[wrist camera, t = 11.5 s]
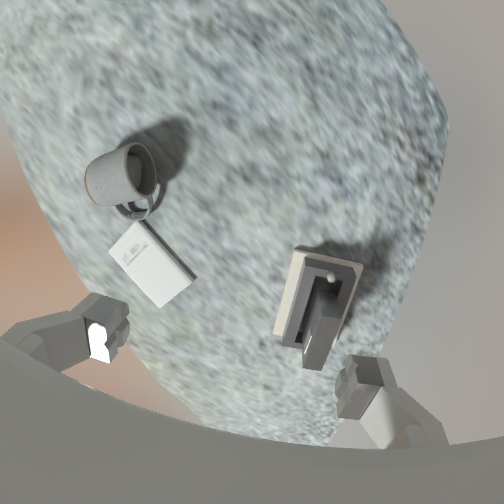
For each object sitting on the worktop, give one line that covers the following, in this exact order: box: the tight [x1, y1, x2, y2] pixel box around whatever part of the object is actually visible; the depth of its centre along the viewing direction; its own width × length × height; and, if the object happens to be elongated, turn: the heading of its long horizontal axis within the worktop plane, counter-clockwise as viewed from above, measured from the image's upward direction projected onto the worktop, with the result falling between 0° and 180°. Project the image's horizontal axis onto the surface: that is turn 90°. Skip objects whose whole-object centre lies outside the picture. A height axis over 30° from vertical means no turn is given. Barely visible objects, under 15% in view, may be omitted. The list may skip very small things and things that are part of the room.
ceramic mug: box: [84, 142, 157, 221], centre depth 38 cm, size 11×8×8 cm
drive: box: [302, 277, 342, 371], centre depth 38 cm, size 8×2×10 cm, turn 170°
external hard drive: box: [109, 220, 194, 308], centre depth 45 cm, size 2×8×12 cm
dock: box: [273, 249, 364, 349], centre depth 41 cm, size 14×10×5 cm
